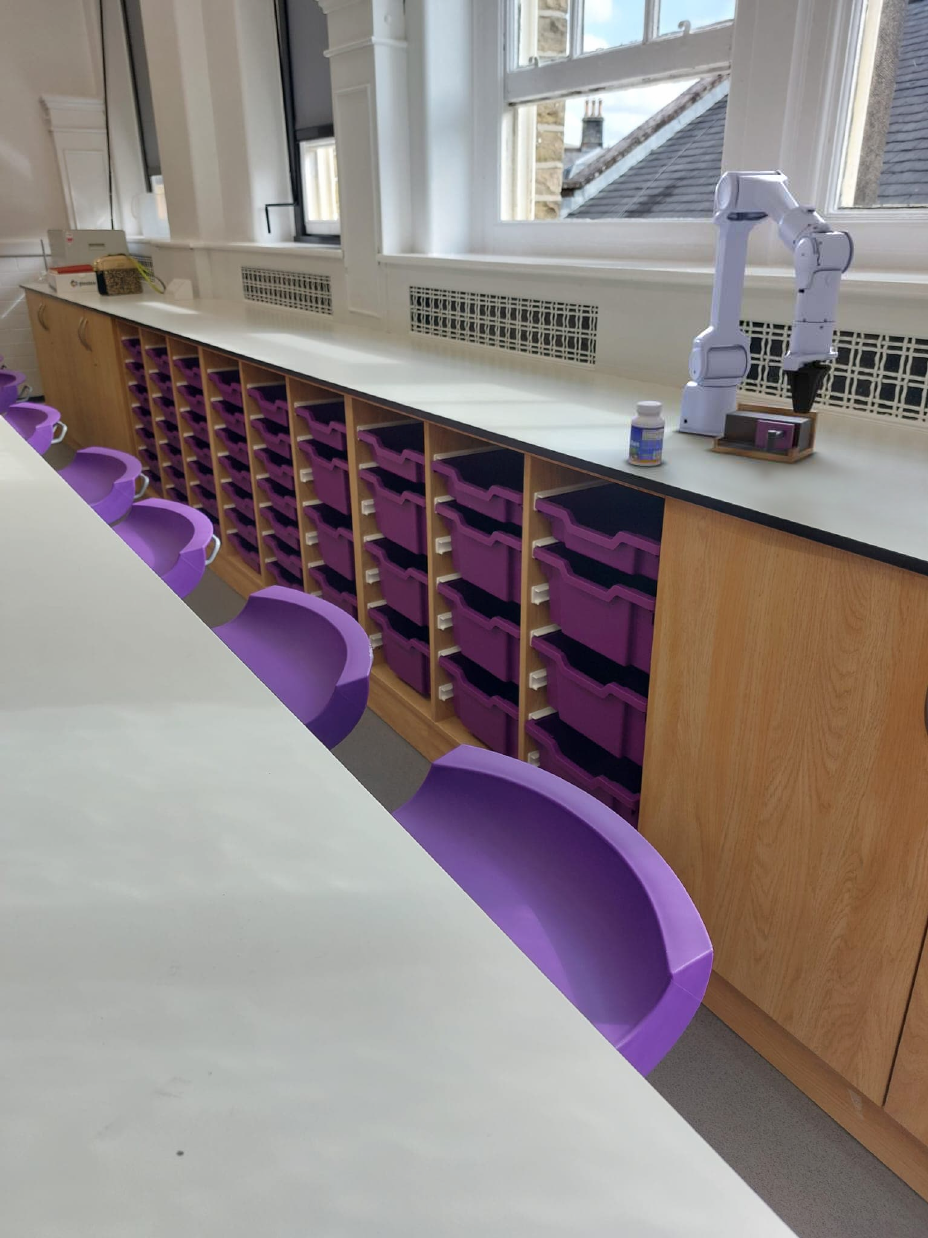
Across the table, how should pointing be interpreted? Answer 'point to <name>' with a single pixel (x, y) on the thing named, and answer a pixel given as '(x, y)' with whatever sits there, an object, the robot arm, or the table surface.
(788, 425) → the sliding door
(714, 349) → the robot arm
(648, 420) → the pill bottle
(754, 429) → the sliding door box
